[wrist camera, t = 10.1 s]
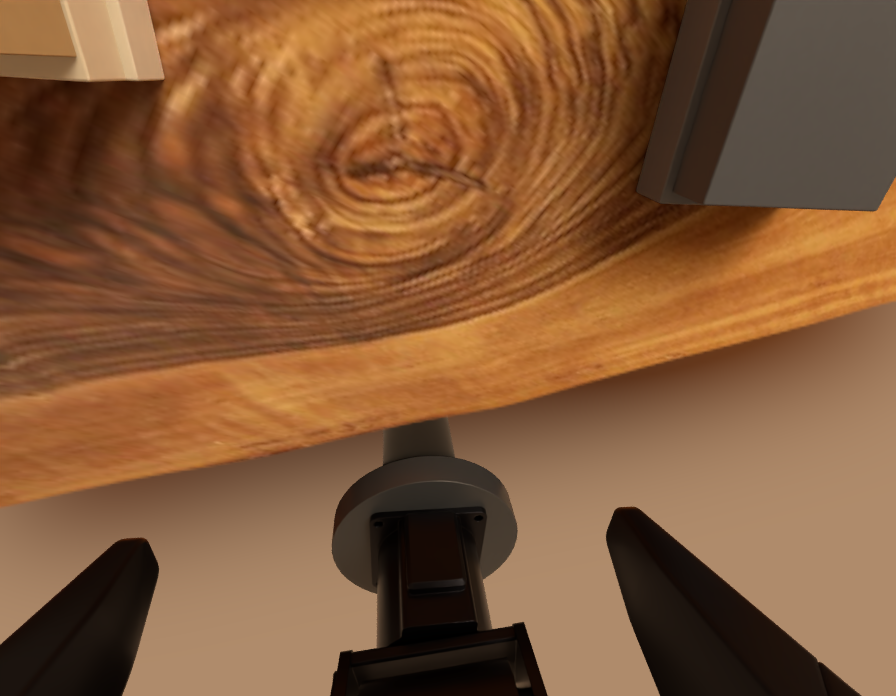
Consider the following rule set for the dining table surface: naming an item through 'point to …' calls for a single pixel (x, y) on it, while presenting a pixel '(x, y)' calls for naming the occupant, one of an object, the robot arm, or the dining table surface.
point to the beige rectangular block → (34, 29)
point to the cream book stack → (98, 45)
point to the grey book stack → (777, 106)
